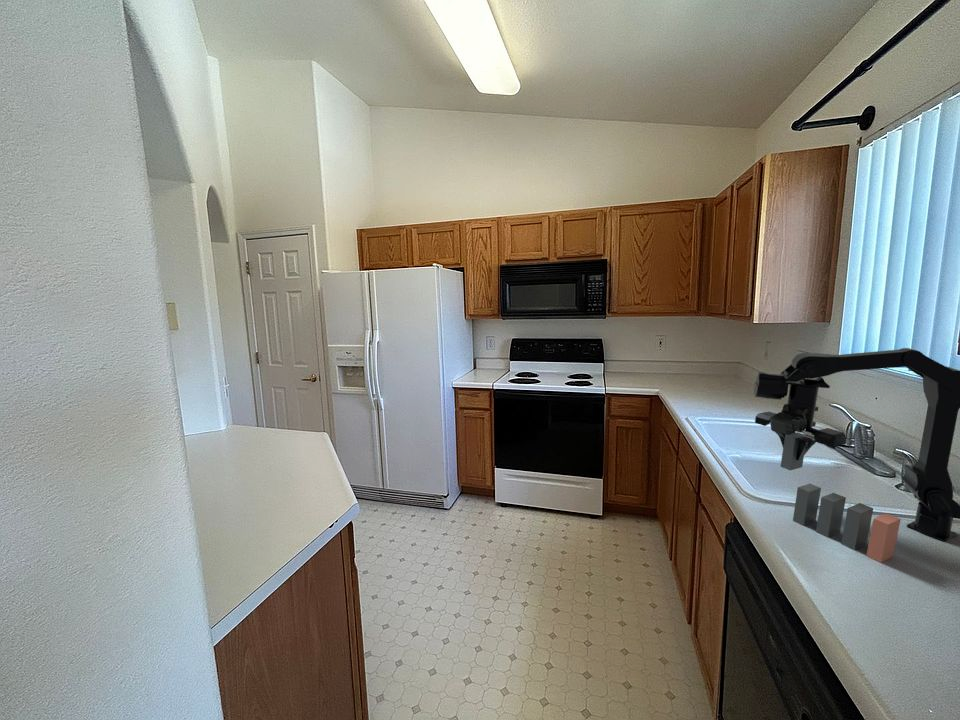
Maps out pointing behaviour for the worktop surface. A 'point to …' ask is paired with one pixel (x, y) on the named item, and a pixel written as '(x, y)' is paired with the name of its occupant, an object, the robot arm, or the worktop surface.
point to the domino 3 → (830, 514)
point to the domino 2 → (806, 504)
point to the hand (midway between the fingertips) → (792, 458)
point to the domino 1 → (791, 452)
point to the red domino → (883, 537)
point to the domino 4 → (857, 526)
